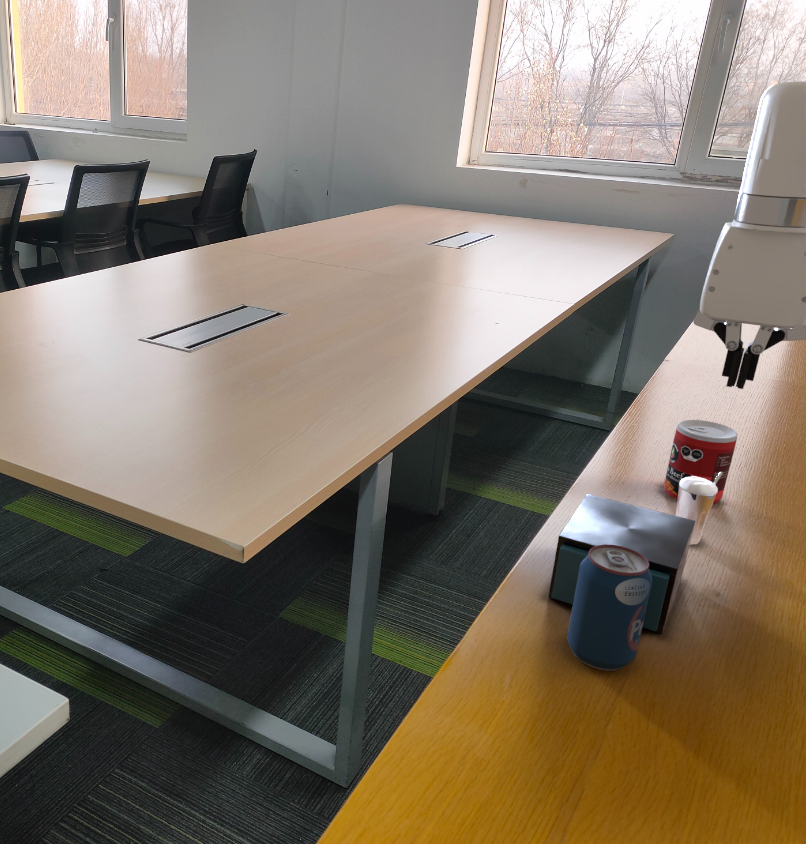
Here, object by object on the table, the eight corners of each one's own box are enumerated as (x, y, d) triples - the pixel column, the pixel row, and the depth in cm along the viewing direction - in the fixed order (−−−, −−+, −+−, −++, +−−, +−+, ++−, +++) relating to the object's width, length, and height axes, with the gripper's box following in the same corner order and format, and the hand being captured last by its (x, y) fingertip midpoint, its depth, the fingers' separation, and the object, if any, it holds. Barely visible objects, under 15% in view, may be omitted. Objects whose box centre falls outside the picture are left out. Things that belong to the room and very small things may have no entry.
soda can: (641, 679, 83) (663, 580, 79) (570, 669, 84) (589, 571, 80) (626, 639, 89) (646, 545, 85) (560, 630, 91) (577, 538, 86)
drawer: (653, 637, 88) (666, 584, 86) (548, 602, 94) (557, 552, 92) (674, 581, 99) (685, 533, 96) (578, 553, 105) (586, 507, 102)
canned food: (657, 481, 127) (671, 417, 123) (711, 486, 126) (727, 421, 122) (670, 503, 120) (686, 436, 116) (728, 509, 119) (746, 440, 115)
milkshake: (717, 545, 109) (734, 479, 105) (681, 548, 108) (697, 481, 104) (694, 529, 113) (710, 465, 109) (660, 532, 112) (674, 467, 109)
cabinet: (662, 634, 90) (677, 569, 87) (547, 597, 97) (558, 535, 94) (680, 581, 101) (695, 520, 97) (576, 550, 107) (587, 493, 104)
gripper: (867, 215, 80) (818, 388, 87) (700, 205, 88) (666, 364, 95) (869, 223, 74) (816, 408, 81) (690, 211, 82) (655, 380, 89)
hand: (735, 384), depth 88 cm, fingers closed
